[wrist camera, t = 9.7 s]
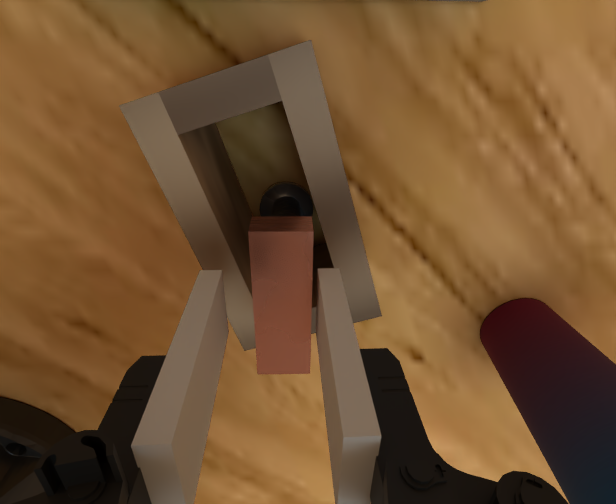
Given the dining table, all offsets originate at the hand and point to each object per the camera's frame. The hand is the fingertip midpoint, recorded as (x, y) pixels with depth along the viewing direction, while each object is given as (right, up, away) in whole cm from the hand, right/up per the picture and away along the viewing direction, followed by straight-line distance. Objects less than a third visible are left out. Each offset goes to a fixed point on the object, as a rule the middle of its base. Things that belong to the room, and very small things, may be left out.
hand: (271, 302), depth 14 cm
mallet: (0, +4, +8) cm, 9 cm away
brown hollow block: (0, +6, +7) cm, 9 cm away
